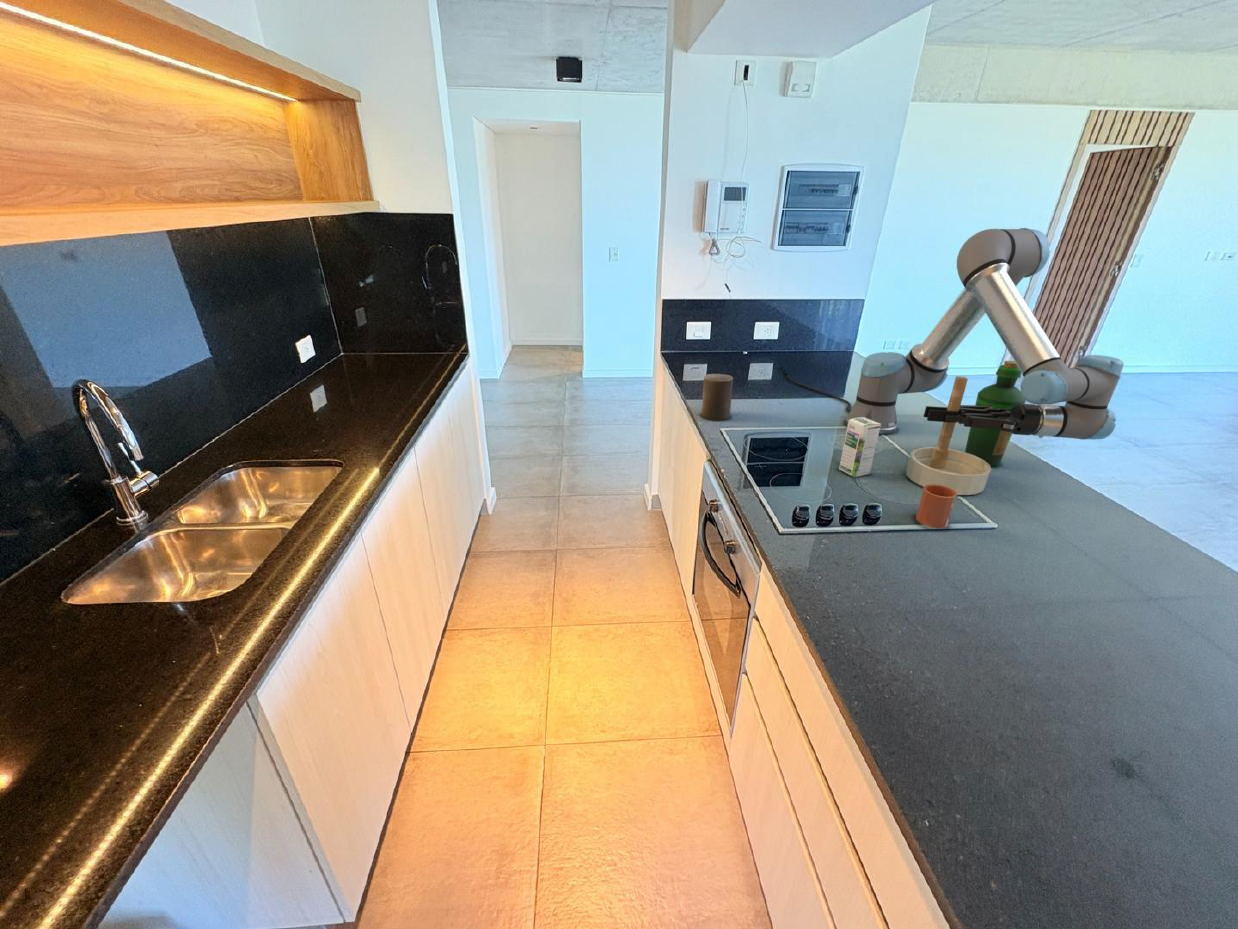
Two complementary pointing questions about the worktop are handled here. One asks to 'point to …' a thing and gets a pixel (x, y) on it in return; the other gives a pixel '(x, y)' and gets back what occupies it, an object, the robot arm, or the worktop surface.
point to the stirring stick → (948, 425)
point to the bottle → (1000, 396)
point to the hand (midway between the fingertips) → (927, 413)
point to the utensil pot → (935, 506)
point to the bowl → (949, 471)
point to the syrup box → (859, 446)
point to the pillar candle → (717, 396)
